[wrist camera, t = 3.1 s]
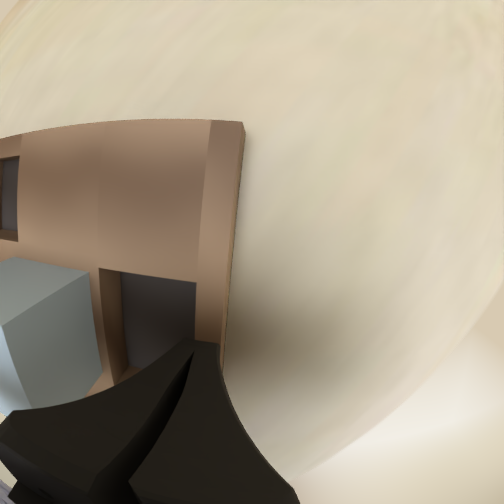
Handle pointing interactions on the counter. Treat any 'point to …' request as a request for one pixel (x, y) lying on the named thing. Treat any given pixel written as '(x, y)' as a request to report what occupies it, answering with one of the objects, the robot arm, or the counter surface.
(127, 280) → the board
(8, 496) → the robot arm
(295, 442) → the counter surface
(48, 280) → the blue block
